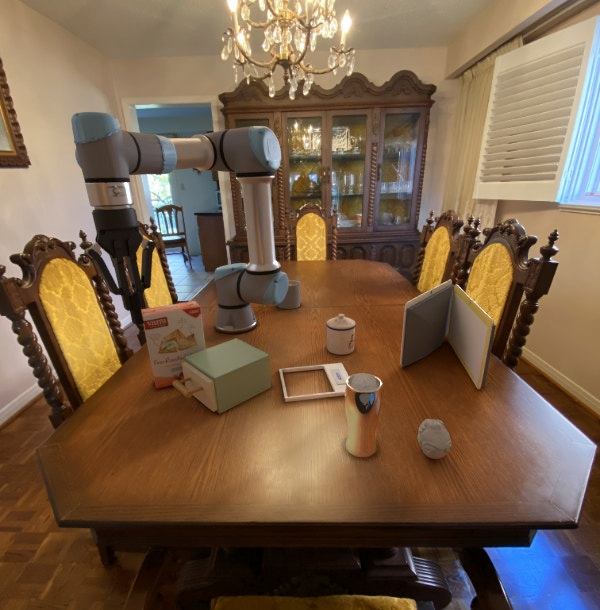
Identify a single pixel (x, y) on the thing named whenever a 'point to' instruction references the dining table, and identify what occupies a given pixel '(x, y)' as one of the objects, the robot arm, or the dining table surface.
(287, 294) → the coffee mug
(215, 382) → the cabinet
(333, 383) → the photo frame
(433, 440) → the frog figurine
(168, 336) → the cracker box
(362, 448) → the beer glass
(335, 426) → the dining table surface
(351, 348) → the teacup with lid
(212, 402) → the drawer
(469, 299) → the grey folded panels
